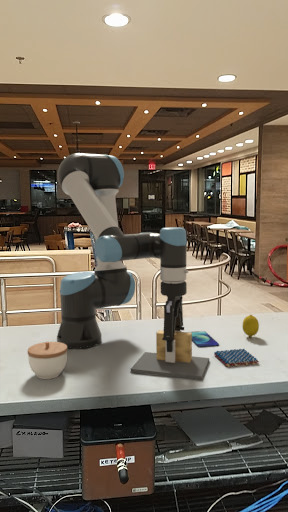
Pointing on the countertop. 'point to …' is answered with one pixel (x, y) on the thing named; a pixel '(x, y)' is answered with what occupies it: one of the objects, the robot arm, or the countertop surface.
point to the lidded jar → (47, 359)
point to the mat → (171, 367)
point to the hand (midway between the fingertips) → (173, 356)
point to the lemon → (250, 325)
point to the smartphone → (203, 339)
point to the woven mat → (235, 357)
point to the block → (176, 346)
